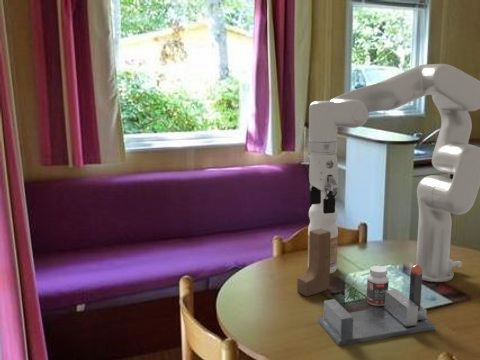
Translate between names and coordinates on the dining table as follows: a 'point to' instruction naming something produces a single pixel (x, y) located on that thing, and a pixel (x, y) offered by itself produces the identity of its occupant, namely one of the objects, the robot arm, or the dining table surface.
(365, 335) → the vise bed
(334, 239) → the fruit juice
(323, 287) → the wooden block
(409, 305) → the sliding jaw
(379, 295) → the pill bottle
